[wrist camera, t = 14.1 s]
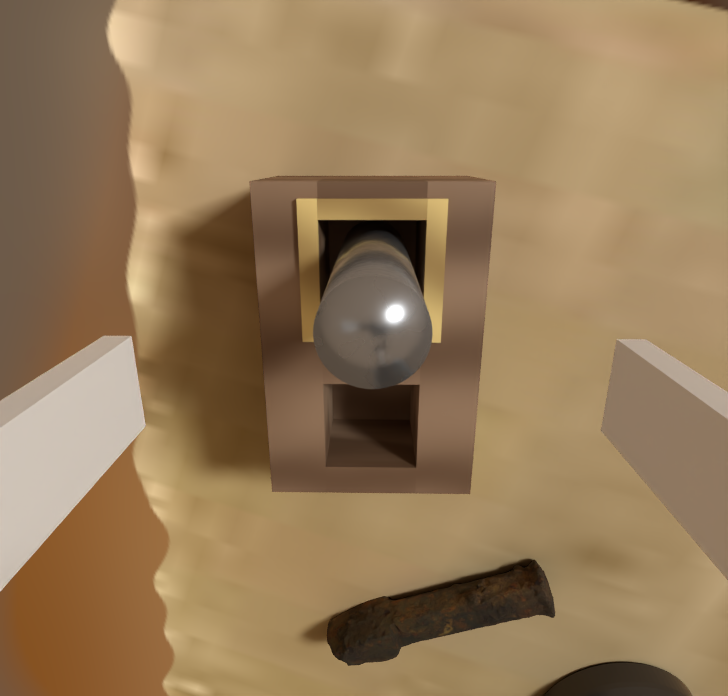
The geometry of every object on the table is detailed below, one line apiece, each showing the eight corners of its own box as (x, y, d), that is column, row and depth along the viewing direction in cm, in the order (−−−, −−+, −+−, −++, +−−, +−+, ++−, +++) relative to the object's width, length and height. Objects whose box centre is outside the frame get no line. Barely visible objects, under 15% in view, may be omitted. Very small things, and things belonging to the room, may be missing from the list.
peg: (404, 284, 33) (429, 389, 18) (341, 284, 33) (314, 388, 18) (406, 219, 32) (435, 275, 17) (340, 219, 32) (310, 275, 17)
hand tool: (537, 549, 43) (556, 593, 38) (545, 586, 44) (564, 632, 40) (320, 594, 45) (314, 641, 41) (334, 627, 46) (329, 676, 42)
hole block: (451, 428, 39) (470, 497, 31) (291, 427, 39) (271, 494, 31) (467, 176, 32) (497, 181, 25) (278, 175, 33) (247, 181, 25)
